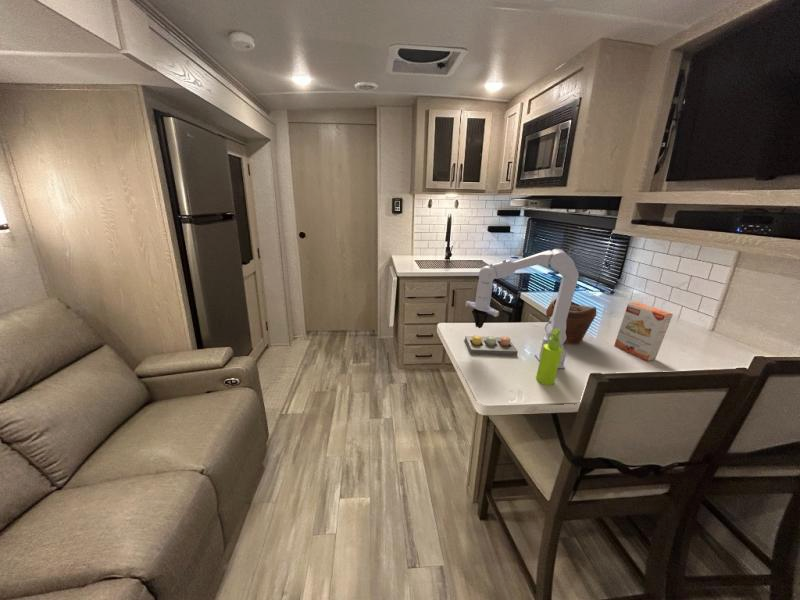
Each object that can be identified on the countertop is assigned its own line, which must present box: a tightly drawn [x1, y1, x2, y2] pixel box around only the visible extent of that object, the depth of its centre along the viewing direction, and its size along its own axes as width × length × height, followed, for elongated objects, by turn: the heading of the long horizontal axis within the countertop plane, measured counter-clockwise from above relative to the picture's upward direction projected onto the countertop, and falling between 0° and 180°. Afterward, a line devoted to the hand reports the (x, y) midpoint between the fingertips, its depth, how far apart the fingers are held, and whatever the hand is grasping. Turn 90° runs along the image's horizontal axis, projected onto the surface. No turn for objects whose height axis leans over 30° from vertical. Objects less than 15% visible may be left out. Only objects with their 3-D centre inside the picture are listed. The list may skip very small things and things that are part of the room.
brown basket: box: [545, 298, 597, 345], centre depth 138 cm, size 18×20×18 cm
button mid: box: [486, 335, 496, 346], centre depth 127 cm, size 4×4×3 cm
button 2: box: [500, 336, 511, 347], centre depth 127 cm, size 4×4×3 cm
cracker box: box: [613, 301, 673, 362], centre depth 127 cm, size 14×6×21 cm, turn 23°
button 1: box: [471, 334, 483, 346], centre depth 127 cm, size 4×4×3 cm
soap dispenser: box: [535, 328, 562, 386], centre depth 104 cm, size 6×7×20 cm
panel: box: [464, 335, 519, 357], centre depth 128 cm, size 12×19×2 cm, turn 90°
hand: (478, 326), depth 125 cm, fingers closed
